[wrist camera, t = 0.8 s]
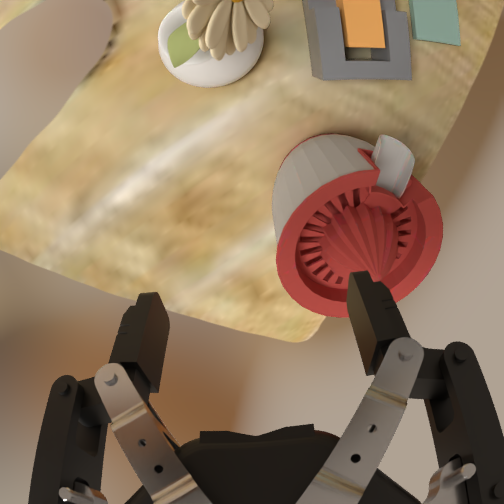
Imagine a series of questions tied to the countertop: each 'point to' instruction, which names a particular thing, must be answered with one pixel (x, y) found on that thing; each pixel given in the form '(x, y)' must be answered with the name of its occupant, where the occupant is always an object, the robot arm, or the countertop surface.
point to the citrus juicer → (351, 220)
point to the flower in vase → (213, 39)
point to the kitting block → (332, 45)
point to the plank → (361, 23)
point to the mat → (435, 21)
